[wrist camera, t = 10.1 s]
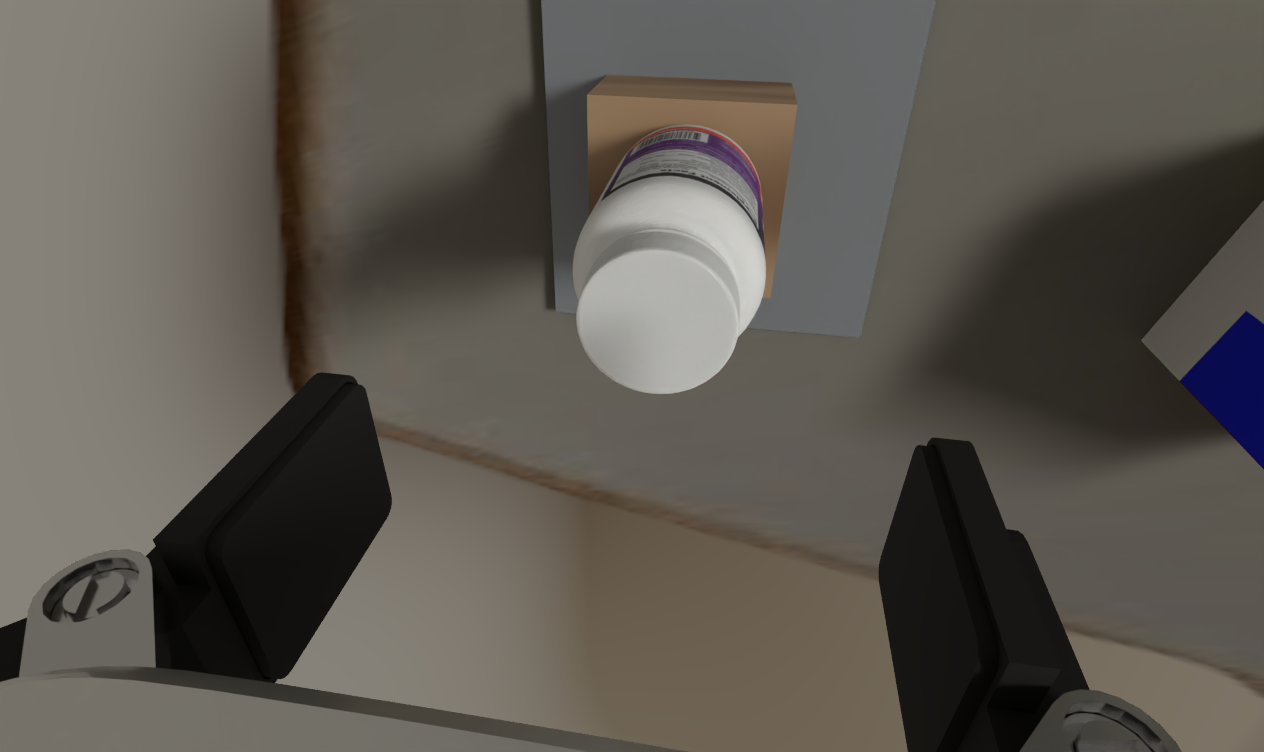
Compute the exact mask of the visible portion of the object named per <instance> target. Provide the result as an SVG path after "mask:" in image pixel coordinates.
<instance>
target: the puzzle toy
mask: <svg viewBox="0 0 1264 752" xmlns="http://www.w3.org/2000/svg"><path fill="white" fill-rule="evenodd" d="M1141 341H1142V342H1143V343H1144V344H1145V346H1146V347H1147V348H1148V349H1149V350H1150V351H1151V352H1152V353H1153V354H1154V355H1155V356H1156V357H1157V358H1158V359H1159V360H1160V361H1161V362H1162V363H1163V364H1164V365H1165V366H1166V368H1167V369H1168V370H1169V371H1170V372H1171V373H1172V374H1173V375H1174V376H1175V377H1176V378H1177V379H1178V380H1179V381H1180V382H1181V383H1182V384H1183V385H1184V386H1185V387H1186V388H1187V389H1188V391H1189V392H1190V393H1191V394H1192V395H1193V396H1194V397H1195V398H1196V399H1197V400H1198V401H1199V402H1200V403H1201V404H1202V405H1203V406H1204V407H1205V408H1206V409H1207V410H1208V411H1209V412H1210V414H1211V415H1212V416H1213V417H1214V418H1215V419H1216V420H1217V421H1218V422H1219V423H1220V424H1221V425H1222V426H1223V427H1224V428H1225V429H1226V430H1227V431H1228V432H1229V433H1230V434H1231V435H1232V437H1233V438H1234V439H1235V440H1236V441H1237V442H1238V443H1239V444H1240V445H1241V446H1242V447H1243V448H1244V449H1245V450H1246V451H1247V452H1248V453H1249V454H1250V455H1251V456H1252V457H1253V458H1254V460H1255V461H1256V462H1257V463H1258V464H1259V465H1260V466H1261V467H1262V468H1263V469H1264V200H1263V201H1262V203H1261V204H1260V205H1259V206H1258V207H1257V208H1256V209H1255V211H1254V212H1253V213H1252V214H1251V215H1250V216H1249V217H1248V219H1247V220H1246V221H1245V222H1244V223H1243V224H1242V225H1241V227H1240V228H1239V229H1238V230H1237V231H1236V232H1235V233H1234V235H1233V236H1232V237H1231V238H1230V239H1229V240H1228V241H1227V243H1226V244H1225V245H1224V246H1223V247H1222V248H1221V249H1220V251H1219V252H1218V253H1217V254H1216V255H1215V256H1214V257H1213V259H1212V260H1211V261H1210V262H1209V263H1208V264H1207V265H1206V267H1205V268H1204V269H1203V270H1202V271H1201V272H1200V273H1199V275H1198V276H1197V277H1196V278H1195V279H1194V280H1193V281H1192V283H1191V284H1190V285H1189V286H1188V287H1187V288H1186V289H1185V291H1184V292H1183V293H1182V294H1181V295H1180V296H1179V297H1178V299H1177V300H1176V301H1175V302H1174V303H1173V304H1172V305H1171V307H1170V308H1169V309H1168V310H1167V311H1166V312H1165V313H1164V315H1163V316H1162V317H1161V318H1160V319H1159V320H1158V321H1157V323H1156V324H1155V325H1154V326H1153V327H1152V328H1151V329H1150V331H1149V332H1148V333H1147V334H1146V335H1145V336H1144V337H1143V339H1142V340H1141Z"/></svg>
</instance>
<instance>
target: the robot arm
mask: <svg viewBox="0 0 1264 752" xmlns="http://www.w3.org/2000/svg"><path fill="white" fill-rule="evenodd" d="M391 504H392V497H391V492H390V488H389V484H388V480H387V476H386V472H385V467H384V463H383V459H382V455H381V451H380V447H379V443H378V438H377V434H376V430H375V426H374V422H373V418H372V414H371V410H370V405H369V401H368V397H367V393H366V390H365V388H364V387H363V386H362V385H358V383H357V381H356V379H355V378H354V377H352V376H350V375H341V374H331V373H317V374H316V375H314V376H313V377H312V378H311V379H310V380H309V381H308V382H307V383H306V384H305V385H304V386H303V387H302V388H301V389H300V390H299V391H298V392H297V393H296V394H295V395H294V396H293V397H292V398H291V399H290V400H289V401H288V402H287V403H286V404H285V406H283V408H281V410H280V411H279V412H278V413H277V414H276V415H275V416H274V417H273V418H272V419H271V420H270V421H269V422H268V423H267V424H266V425H265V426H264V427H263V428H262V429H261V430H260V431H259V432H258V433H257V434H256V435H255V436H254V437H253V438H252V439H251V440H250V441H249V442H248V443H247V444H246V445H245V446H244V447H243V449H241V450H240V451H239V452H238V453H237V454H236V455H235V457H233V459H231V461H230V462H229V463H228V464H227V465H226V466H225V467H224V468H223V469H222V470H221V471H220V472H219V473H218V474H217V475H216V476H215V477H214V478H213V479H212V480H211V481H210V482H209V483H208V484H207V485H206V486H205V487H204V488H203V489H202V490H201V491H200V492H199V493H198V494H197V495H196V496H195V497H194V498H193V499H192V500H191V501H190V502H189V503H188V504H187V506H185V507H184V509H182V510H181V512H180V513H179V514H178V515H177V516H176V517H175V518H174V519H173V520H172V521H171V522H170V523H169V524H168V525H167V526H166V527H165V528H164V529H163V530H162V531H161V532H160V533H159V534H158V535H157V536H156V537H155V538H154V539H153V541H154V543H155V545H156V547H155V548H154V549H153V550H152V551H151V552H150V553H149V554H148V555H147V556H144V555H143V554H142V553H140V552H136V551H132V550H110V551H106V552H102V553H98V554H94V555H91V556H89V557H86V558H84V559H82V560H79V561H77V562H75V563H73V564H71V565H70V566H68V567H66V568H65V569H63V570H61V571H59V572H58V573H57V574H55V576H53V577H52V578H51V579H50V580H49V581H47V582H46V583H45V584H44V585H43V586H42V587H41V589H40V590H39V591H38V592H37V593H36V595H35V596H34V597H33V599H32V602H31V605H30V607H29V610H28V616H27V618H25V619H22V620H20V621H17V622H15V623H12V624H9V625H7V626H4V627H2V628H0V752H686V751H681V750H674V749H669V748H663V747H657V746H652V745H646V744H640V743H634V742H628V741H623V740H617V739H610V738H604V737H599V736H593V735H587V734H581V733H575V732H569V731H563V730H557V729H551V728H545V727H540V726H533V725H528V724H522V723H515V722H510V721H504V720H497V719H492V718H485V717H479V716H474V715H467V714H462V713H455V712H449V711H444V710H438V709H432V708H426V707H420V706H412V705H407V704H400V703H395V702H389V701H382V700H376V699H370V698H363V697H358V696H351V695H345V694H339V693H333V692H326V691H320V690H314V689H307V688H301V687H296V686H289V685H283V684H277V683H275V682H276V681H277V679H282V678H285V677H286V676H287V675H288V674H289V673H290V671H291V670H292V669H293V667H294V665H295V664H296V662H297V661H298V659H299V657H300V656H301V654H302V653H303V651H304V650H305V648H306V646H307V645H308V643H309V642H310V640H311V638H312V637H313V635H314V634H315V632H316V630H317V629H318V627H319V626H320V624H321V622H322V621H323V619H324V618H325V616H326V614H327V613H328V611H329V610H330V608H331V606H332V605H333V603H334V602H335V600H336V599H337V597H338V595H339V594H340V592H341V590H342V589H343V587H344V586H345V584H346V583H347V581H348V579H349V578H350V576H351V575H352V573H353V571H354V570H355V568H356V567H357V565H358V563H359V562H360V560H361V558H362V557H363V555H364V554H365V552H366V551H367V549H368V548H369V546H370V544H371V543H372V541H373V540H374V538H375V536H376V535H377V533H378V531H379V530H380V528H381V527H382V525H383V524H384V522H385V520H386V519H387V517H388V515H389V513H390V509H391ZM879 584H880V590H881V596H882V602H883V608H884V614H885V619H886V625H887V631H888V637H889V643H890V649H891V654H892V661H893V666H894V672H895V677H896V684H897V690H898V695H899V702H900V707H901V713H902V719H903V725H904V730H905V736H906V743H907V748H908V752H1181V750H1180V748H1179V746H1178V745H1177V743H1176V742H1175V741H1174V740H1173V739H1172V737H1171V736H1170V735H1169V734H1168V733H1167V732H1166V731H1165V729H1163V727H1162V726H1161V725H1160V724H1159V723H1157V722H1156V721H1155V720H1154V719H1152V718H1151V717H1150V716H1149V715H1147V714H1146V713H1145V712H1143V711H1142V710H1141V709H1140V708H1138V707H1136V706H1134V705H1132V704H1130V703H1128V702H1126V701H1125V700H1123V699H1121V698H1119V697H1116V696H1113V695H1110V694H1107V693H1104V692H1100V691H1094V690H1089V687H1088V685H1087V682H1086V680H1085V678H1084V675H1083V673H1082V671H1081V668H1080V666H1079V663H1078V661H1077V659H1076V656H1075V654H1074V651H1073V649H1072V647H1071V644H1070V642H1069V640H1068V637H1067V635H1066V632H1065V630H1064V628H1063V625H1062V623H1061V620H1060V618H1059V616H1058V613H1057V611H1056V608H1055V606H1054V604H1053V601H1052V599H1051V596H1050V594H1049V592H1048V589H1047V587H1046V584H1045V582H1044V580H1043V577H1042V575H1041V573H1040V570H1039V568H1038V565H1037V563H1036V561H1035V558H1034V556H1033V553H1032V551H1031V549H1030V546H1029V544H1028V542H1027V540H1026V539H1025V537H1024V535H1023V534H1021V533H1020V532H1019V531H1016V530H1007V529H1006V528H1005V525H1004V522H1003V520H1002V517H1001V515H1000V512H999V510H998V507H997V505H996V502H995V499H994V497H993V494H992V492H991V489H990V487H989V484H988V482H987V479H986V477H985V474H984V471H983V469H982V466H981V464H980V461H979V459H978V456H977V454H976V451H975V448H974V446H973V445H972V443H971V442H969V441H961V440H951V439H942V438H931V439H930V440H929V442H928V444H927V446H922V445H918V446H917V447H916V448H915V450H914V453H913V456H912V459H911V462H910V465H909V469H908V472H907V475H906V478H905V481H904V485H903V488H902V491H901V494H900V498H899V501H898V504H897V507H896V510H895V514H894V517H893V520H892V523H891V526H890V530H889V533H888V536H887V539H886V542H885V546H884V549H883V552H882V555H881V559H880V563H879Z"/></svg>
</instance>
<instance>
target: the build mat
mask: <svg viewBox="0 0 1264 752" xmlns="http://www.w3.org/2000/svg"><path fill="white" fill-rule="evenodd" d="M935 3H936V0H541V6H542V28H543V49H544V70H545V92H546V113H547V134H548V156H549V177H550V198H551V220H552V241H553V263H554V284H555V305H556V312H564V313H575V314H576V313H577V305H578V298H577V295H576V292H575V287H574V282H573V258H574V252H575V248H576V245H577V242H578V239H579V236H580V233H581V231H582V229H583V227H584V225H585V223H586V221H587V219H588V217H589V189H588V126H587V94H588V93H589V92H590V91H591V90H592V89H593V88H594V87H595V86H596V85H597V84H598V83H599V82H601V81H602V80H603V79H604V78H605V77H606V76H607V75H628V76H651V77H673V78H695V79H717V80H739V81H761V82H783V83H792V86H793V90H794V93H795V97H796V101H797V112H796V119H795V126H794V134H793V141H792V148H791V155H790V162H789V169H788V177H787V184H786V191H785V198H784V205H783V212H782V220H781V227H780V234H779V241H778V248H777V255H776V263H775V270H774V277H773V284H772V291H771V298H762V300H761V303H760V305H759V308H758V310H757V311H756V313H755V315H754V317H753V319H752V320H751V322H750V324H749V325H748V326H747V328H753V329H765V330H776V331H788V332H800V333H812V334H824V335H836V336H847V337H859V338H860V337H861V333H862V328H863V324H864V319H865V315H866V310H867V306H868V302H869V297H870V293H871V288H872V284H873V279H874V275H875V270H876V266H877V261H878V257H879V252H880V248H881V244H882V239H883V235H884V230H885V226H886V221H887V217H888V212H889V208H890V203H891V199H892V194H893V190H894V186H895V181H896V177H897V172H898V168H899V163H900V159H901V154H902V150H903V145H904V141H905V136H906V132H907V127H908V123H909V119H910V114H911V110H912V105H913V101H914V96H915V92H916V87H917V83H918V78H919V74H920V69H921V65H922V61H923V56H924V52H925V47H926V43H927V38H928V34H929V29H930V25H931V20H932V16H933V11H934V7H935Z"/></svg>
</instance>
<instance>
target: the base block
mask: <svg viewBox="0 0 1264 752" xmlns="http://www.w3.org/2000/svg"><path fill="white" fill-rule="evenodd" d="M796 112H797V101H796V97H795V93H794V90H793V86H792V83H783V82H761V81H739V80H717V79H695V78H673V77H651V76H628V75H607V76H606V77H605V78H604V79H603V80H602V81H601V82H599V83H598V84H597V85H596V86H595V87H594V88H593V89H592V90H591V91H590V92H589V93H588V94H587V126H588V189H589V216H590V214H591V212H592V210H593V209H594V207H595V205H596V204H597V202H598V200H599V198H600V197H601V195H602V193H603V191H604V189H605V188H606V186H607V184H608V182H609V181H610V179H611V177H612V175H613V173H614V172H615V170H616V168H617V167H618V165H619V163H620V162H621V160H622V159H623V157H624V156H625V155H626V153H627V152H628V151H629V150H630V149H631V148H632V147H633V146H634V145H635V144H636V143H637V142H638V141H640V140H641V139H642V138H643V137H645V136H647V135H648V134H650V133H652V132H654V131H656V130H658V129H661V128H664V127H668V126H672V125H681V124H691V125H699V126H704V127H708V128H711V129H714V130H716V131H718V132H720V133H723V134H724V135H726V136H728V137H729V138H731V139H732V140H733V141H734V142H736V143H737V144H738V145H739V146H740V147H741V148H742V149H743V151H744V152H745V153H746V154H747V155H748V157H749V158H750V160H751V162H752V163H753V165H754V167H755V169H756V172H757V174H758V177H759V181H760V185H761V191H762V200H763V227H764V243H765V257H766V281H765V288H764V293H763V297H762V298H771V291H772V284H773V277H774V270H775V263H776V255H777V248H778V241H779V234H780V227H781V220H782V212H783V205H784V198H785V191H786V184H787V177H788V169H789V162H790V155H791V148H792V141H793V134H794V126H795V119H796Z"/></svg>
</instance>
